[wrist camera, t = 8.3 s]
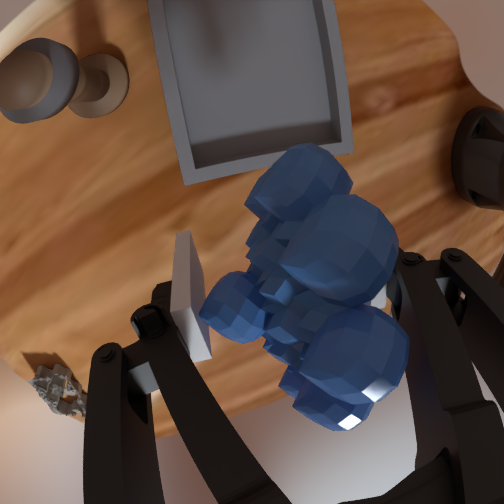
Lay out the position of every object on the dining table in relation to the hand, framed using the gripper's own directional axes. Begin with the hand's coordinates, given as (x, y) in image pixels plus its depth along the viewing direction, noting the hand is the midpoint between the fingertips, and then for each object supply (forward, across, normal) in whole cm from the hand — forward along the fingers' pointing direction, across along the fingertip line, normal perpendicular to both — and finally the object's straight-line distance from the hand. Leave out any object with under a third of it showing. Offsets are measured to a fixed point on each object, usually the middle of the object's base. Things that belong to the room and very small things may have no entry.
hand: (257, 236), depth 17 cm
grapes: (+1, 0, 0) cm, 1 cm away
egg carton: (+14, +33, +24) cm, 43 cm away
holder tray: (+14, -4, -11) cm, 18 cm away
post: (+14, +10, -12) cm, 21 cm away
